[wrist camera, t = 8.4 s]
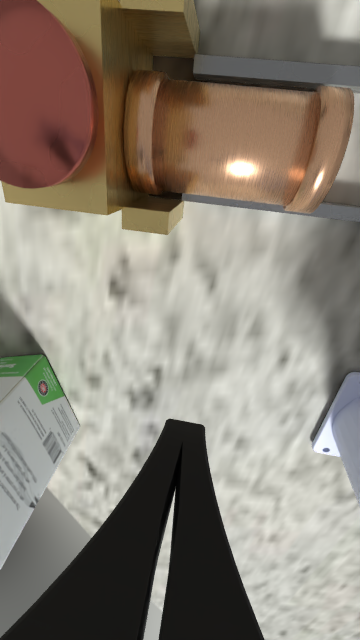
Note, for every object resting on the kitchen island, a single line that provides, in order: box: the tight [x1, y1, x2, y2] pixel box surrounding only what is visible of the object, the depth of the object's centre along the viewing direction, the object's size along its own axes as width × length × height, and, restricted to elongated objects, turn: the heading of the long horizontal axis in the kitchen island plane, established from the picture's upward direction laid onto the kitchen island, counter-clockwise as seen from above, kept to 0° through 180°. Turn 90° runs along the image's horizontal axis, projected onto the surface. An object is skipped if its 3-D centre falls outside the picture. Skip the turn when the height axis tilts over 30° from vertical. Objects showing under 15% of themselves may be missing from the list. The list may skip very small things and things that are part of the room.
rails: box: [182, 54, 360, 222], centre depth 13 cm, size 11×6×1 cm, turn 85°
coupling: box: [123, 70, 354, 214], centre depth 12 cm, size 8×4×4 cm, turn 85°
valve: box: [0, 0, 200, 235], centre depth 11 cm, size 9×8×8 cm
